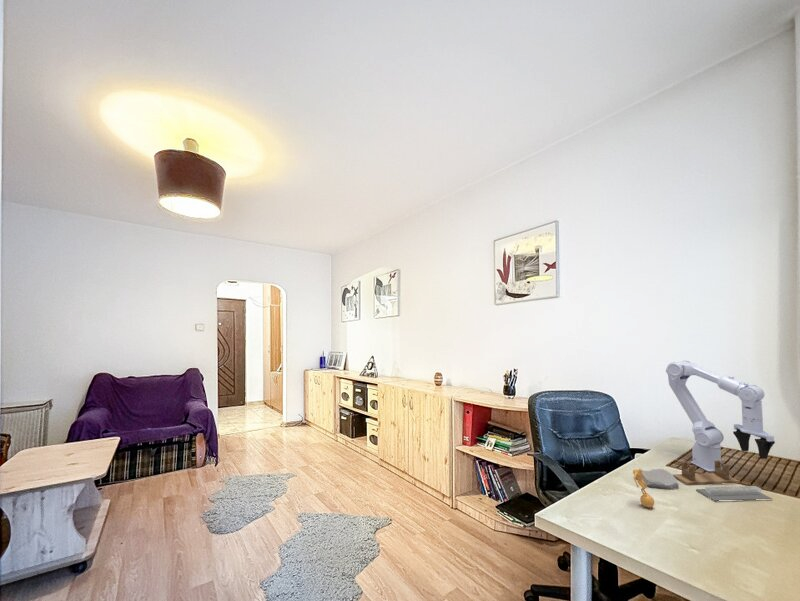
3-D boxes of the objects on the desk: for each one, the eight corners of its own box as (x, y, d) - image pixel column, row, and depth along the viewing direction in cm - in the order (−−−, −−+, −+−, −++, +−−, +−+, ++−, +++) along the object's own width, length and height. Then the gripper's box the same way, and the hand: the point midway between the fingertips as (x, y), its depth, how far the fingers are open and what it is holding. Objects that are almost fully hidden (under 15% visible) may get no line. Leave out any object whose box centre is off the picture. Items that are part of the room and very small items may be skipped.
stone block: (682, 494, 141) (665, 477, 151) (682, 482, 140) (665, 466, 150) (648, 495, 142) (633, 478, 152) (648, 483, 141) (634, 466, 151)
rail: (710, 495, 134) (710, 490, 135) (705, 493, 136) (705, 487, 137) (761, 494, 135) (760, 488, 135) (755, 491, 137) (755, 486, 137)
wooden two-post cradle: (686, 485, 144) (686, 467, 144) (672, 477, 151) (672, 460, 151) (739, 483, 144) (738, 466, 145) (723, 475, 151) (722, 459, 152)
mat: (696, 490, 139) (696, 489, 139) (750, 489, 140) (750, 487, 140) (714, 502, 131) (714, 500, 131) (772, 500, 132) (772, 498, 132)
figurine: (650, 513, 125) (648, 476, 125) (629, 506, 130) (628, 470, 130) (658, 504, 130) (657, 468, 131) (638, 498, 135) (637, 463, 135)
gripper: (725, 413, 154) (727, 447, 153) (759, 424, 139) (761, 462, 139) (743, 413, 154) (744, 447, 153) (779, 423, 139) (781, 461, 139)
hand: (753, 454), depth 146 cm, fingers open, 7 cm apart
